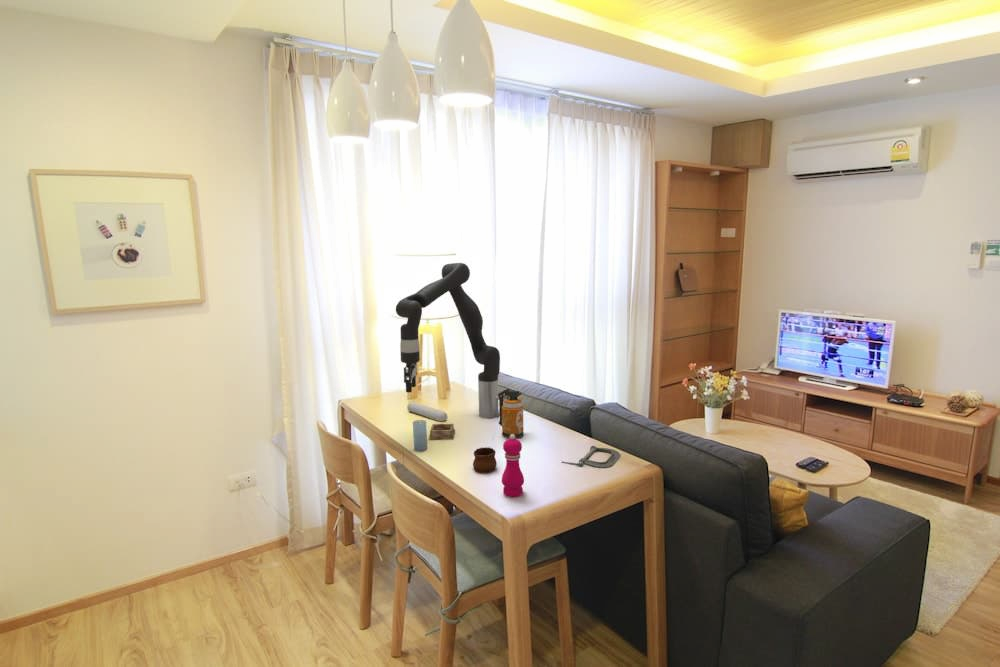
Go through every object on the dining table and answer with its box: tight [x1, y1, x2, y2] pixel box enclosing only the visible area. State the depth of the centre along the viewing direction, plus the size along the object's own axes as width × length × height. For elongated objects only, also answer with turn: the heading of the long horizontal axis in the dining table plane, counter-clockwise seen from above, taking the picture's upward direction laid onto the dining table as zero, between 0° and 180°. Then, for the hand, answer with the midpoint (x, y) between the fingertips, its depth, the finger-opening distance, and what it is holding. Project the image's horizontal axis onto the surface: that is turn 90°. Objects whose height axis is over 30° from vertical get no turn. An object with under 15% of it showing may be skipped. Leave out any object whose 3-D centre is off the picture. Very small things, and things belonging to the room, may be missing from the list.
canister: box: [498, 388, 524, 439], centre depth 230 cm, size 9×11×20 cm
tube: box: [406, 400, 448, 423], centre depth 258 cm, size 5×5×25 cm
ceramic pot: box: [472, 446, 498, 474], centre depth 197 cm, size 18×18×7 cm
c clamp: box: [561, 445, 621, 469], centre depth 206 cm, size 20×17×3 cm
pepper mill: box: [501, 434, 525, 498], centre depth 176 cm, size 7×7×20 cm
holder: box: [428, 423, 456, 441], centre depth 232 cm, size 10×10×4 cm
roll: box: [412, 419, 428, 452], centre depth 217 cm, size 5×5×11 cm
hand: (411, 389), depth 221 cm, fingers open, 8 cm apart
